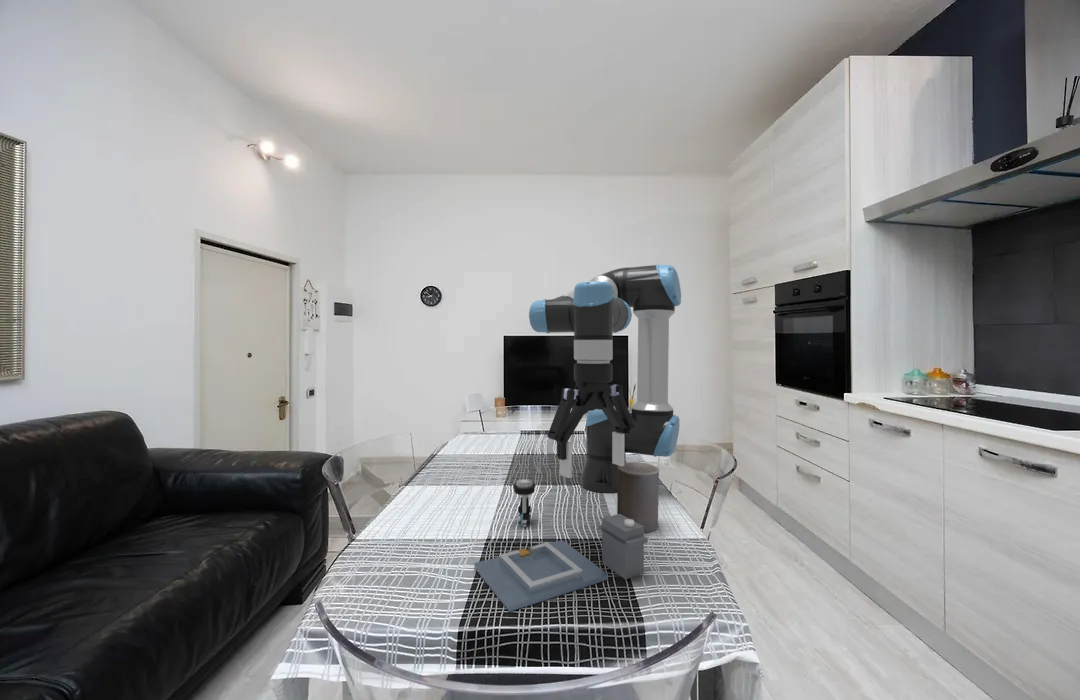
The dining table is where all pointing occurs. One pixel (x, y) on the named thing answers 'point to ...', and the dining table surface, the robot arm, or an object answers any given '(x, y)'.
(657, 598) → the dining table surface
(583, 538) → the dining table surface
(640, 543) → the servo
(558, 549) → the plate
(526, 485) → the push button
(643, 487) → the pillar candle
